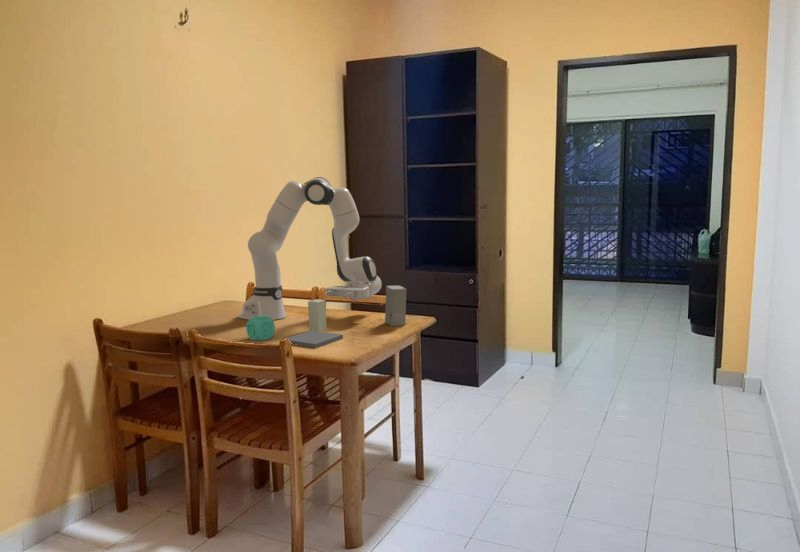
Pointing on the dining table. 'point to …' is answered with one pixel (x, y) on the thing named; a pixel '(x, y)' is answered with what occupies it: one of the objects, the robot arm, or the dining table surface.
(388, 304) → the skincare box
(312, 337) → the slate board
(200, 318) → the dining table surface
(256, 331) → the decorative dice
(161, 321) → the dining table surface
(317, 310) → the sage block
